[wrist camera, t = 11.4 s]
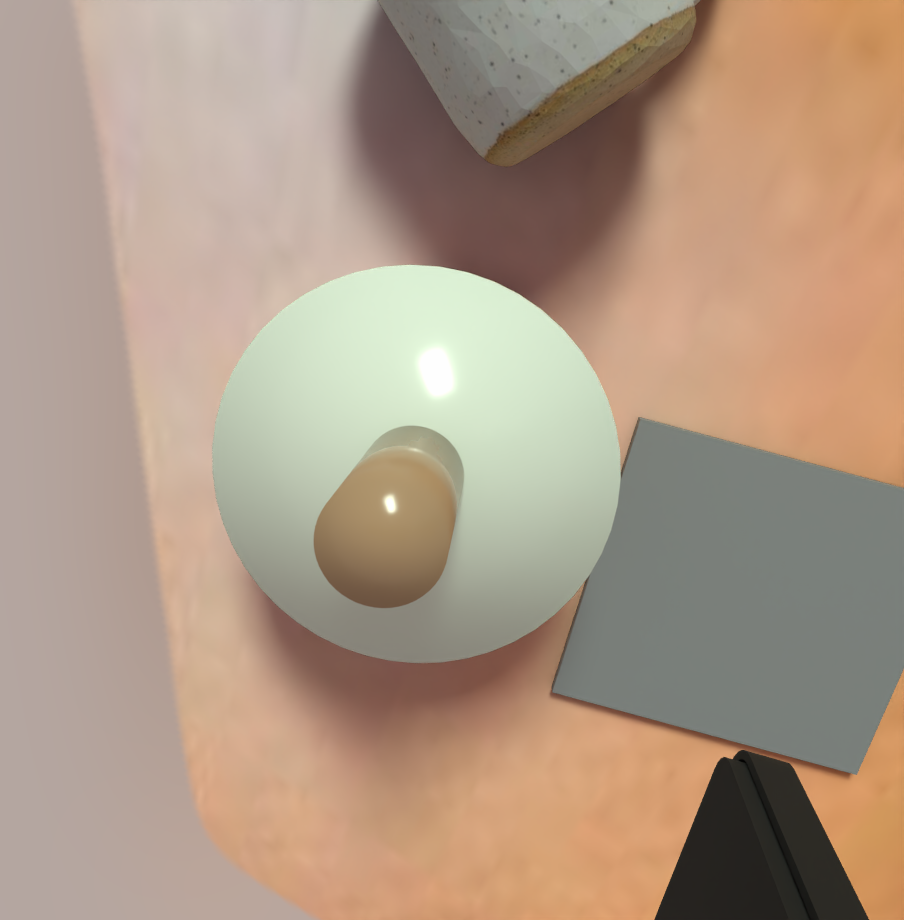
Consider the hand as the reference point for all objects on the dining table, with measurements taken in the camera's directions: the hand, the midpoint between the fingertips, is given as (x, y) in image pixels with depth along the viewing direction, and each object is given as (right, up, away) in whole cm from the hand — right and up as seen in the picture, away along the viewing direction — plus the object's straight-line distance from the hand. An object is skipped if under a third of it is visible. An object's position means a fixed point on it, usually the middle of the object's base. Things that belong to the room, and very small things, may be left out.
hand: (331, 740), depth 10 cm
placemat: (+13, -2, +20) cm, 23 cm away
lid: (+1, +3, +15) cm, 16 cm away
